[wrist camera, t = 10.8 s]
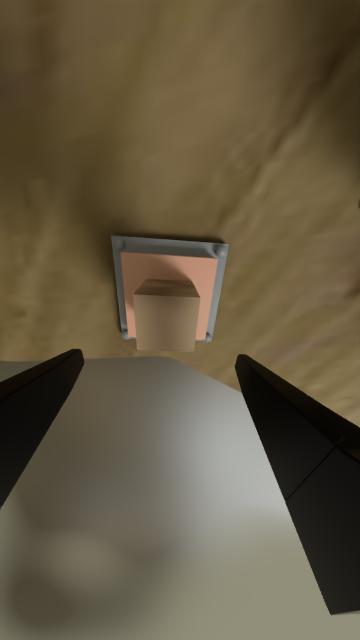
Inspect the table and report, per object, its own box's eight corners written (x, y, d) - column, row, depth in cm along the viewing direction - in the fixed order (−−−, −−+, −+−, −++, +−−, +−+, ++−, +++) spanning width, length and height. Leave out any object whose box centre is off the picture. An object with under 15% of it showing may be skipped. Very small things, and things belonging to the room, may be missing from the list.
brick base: (226, 244, 18) (235, 243, 15) (209, 337, 24) (214, 349, 21) (114, 235, 17) (102, 234, 15) (124, 334, 23) (117, 346, 20)
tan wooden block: (192, 281, 17) (200, 297, 12) (188, 321, 19) (194, 351, 14) (146, 278, 17) (133, 294, 11) (147, 320, 19) (137, 349, 13)
